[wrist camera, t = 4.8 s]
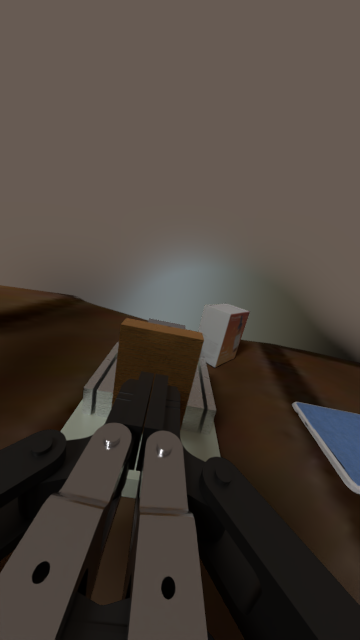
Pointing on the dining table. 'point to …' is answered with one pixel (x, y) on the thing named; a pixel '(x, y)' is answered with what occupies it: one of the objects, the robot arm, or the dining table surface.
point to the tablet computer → (335, 439)
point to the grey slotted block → (198, 404)
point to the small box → (221, 332)
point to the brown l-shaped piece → (158, 356)
